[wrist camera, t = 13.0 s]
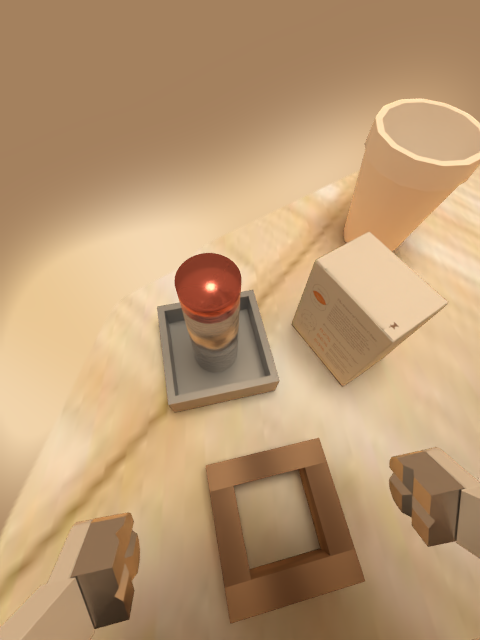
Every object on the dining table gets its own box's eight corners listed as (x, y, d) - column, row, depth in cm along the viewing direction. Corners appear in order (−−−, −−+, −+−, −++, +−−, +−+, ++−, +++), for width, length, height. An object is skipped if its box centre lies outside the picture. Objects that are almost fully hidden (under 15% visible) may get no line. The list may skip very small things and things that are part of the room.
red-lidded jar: (232, 329, 30) (233, 248, 19) (241, 367, 28) (248, 301, 18) (192, 337, 30) (171, 258, 19) (198, 376, 28) (179, 313, 17)
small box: (383, 358, 30) (453, 303, 21) (341, 388, 28) (395, 344, 19) (330, 298, 33) (370, 227, 24) (289, 323, 31) (314, 257, 22)
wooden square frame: (311, 441, 26) (319, 437, 24) (351, 570, 22) (365, 581, 20) (207, 466, 25) (205, 465, 23) (230, 608, 21) (230, 623, 19)
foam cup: (348, 200, 40) (396, 87, 28) (417, 229, 38) (499, 120, 26) (318, 246, 36) (359, 139, 25) (393, 282, 34) (476, 182, 23)
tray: (251, 305, 32) (253, 289, 29) (274, 390, 28) (279, 380, 25) (163, 321, 31) (157, 306, 28) (174, 412, 27) (168, 404, 24)
